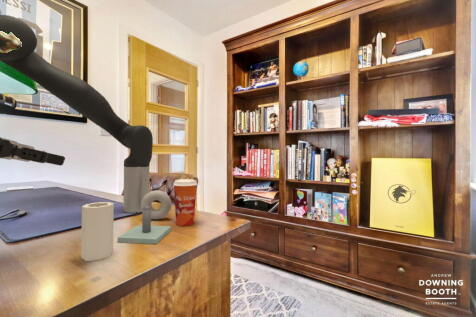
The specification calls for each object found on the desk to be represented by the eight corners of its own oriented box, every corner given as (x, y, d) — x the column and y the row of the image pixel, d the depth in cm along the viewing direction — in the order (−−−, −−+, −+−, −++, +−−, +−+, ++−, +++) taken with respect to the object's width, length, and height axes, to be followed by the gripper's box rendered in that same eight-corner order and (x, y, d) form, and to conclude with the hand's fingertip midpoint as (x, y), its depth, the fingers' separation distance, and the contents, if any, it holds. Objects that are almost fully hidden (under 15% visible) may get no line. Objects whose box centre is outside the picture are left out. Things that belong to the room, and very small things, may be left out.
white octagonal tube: (89, 250, 50) (90, 202, 50) (115, 248, 51) (116, 201, 51) (77, 261, 45) (77, 208, 45) (106, 259, 46) (106, 207, 46)
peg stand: (138, 229, 65) (138, 201, 65) (171, 230, 64) (171, 202, 64) (117, 242, 55) (117, 209, 55) (156, 244, 54) (156, 210, 54)
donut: (172, 217, 77) (172, 189, 77) (170, 220, 74) (170, 191, 74) (142, 218, 76) (142, 189, 76) (139, 221, 73) (139, 191, 72)
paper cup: (172, 228, 66) (173, 181, 66) (172, 220, 74) (173, 179, 74) (198, 226, 69) (199, 181, 68) (196, 219, 76) (197, 178, 76)
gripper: (-75, 108, 35) (47, 137, 40) (-12, 127, 48) (73, 147, 54) (-96, 153, 34) (32, 177, 39) (-26, 160, 47) (62, 177, 52)
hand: (55, 159), depth 46 cm, fingers open, 8 cm apart
